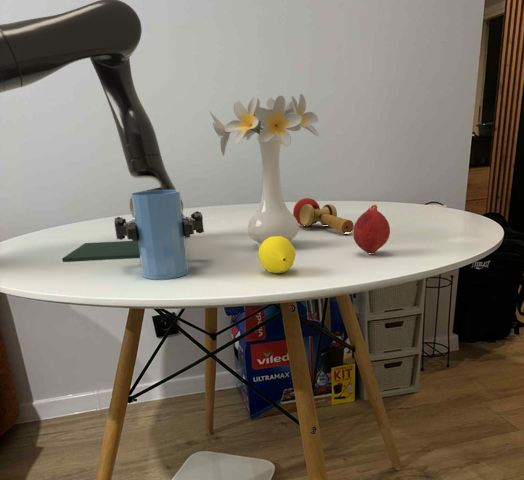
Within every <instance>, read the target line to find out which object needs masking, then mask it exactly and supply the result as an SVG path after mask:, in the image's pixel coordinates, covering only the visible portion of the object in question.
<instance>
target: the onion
mask: <svg viewBox="0 0 524 480" xmlns="http://www.w3.org/2000/svg"><path fill="white" fill-rule="evenodd" d="M378 207H379V206H378V205H377V204H375V203H373V204H371V205H370V206H369V207H368V209H367V210H366V211H364V212H363V213H362V214H360V216H359V217H357V220H356V221H355V223H354V228H353V231H352V235H353V240H354V243H355V244H356V245H357V246H358V247H359V248H360V249H361V250H362V251H364V252H365V253H366V254H368V253H374V254H376V252H377V251H378V250H380V249H381V248H382V247H384V245H386V244H387V242H388V240H389V238H390V235H391V227H390V223H389V221H388V220H387V218H386V217H385V215H384V214H383V213H381V212H380V211H378Z"/></svg>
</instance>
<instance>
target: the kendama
mask: <svg viewBox="0 0 524 480" xmlns="http://www.w3.org/2000/svg"><path fill="white" fill-rule="evenodd" d="M337 211H338V210H337V207H336V206H335V205H333V204H331V203H330V204H329V203H327V204H324V205H323V206H322V208H321V207H320V204H319V203H318V202H317V201H316V200H315V199H313V198H310V197H304V198H301V199H299V200H298V201H297V202H296V203H295V205H294V206H293V211H292V214H293V215H294V217H295V218H296V220H297V222H298V225H299V226H302V225H305V226H306V227H310V226H309V225H311V226H313V225H315V224H317V223H320V224H321V225H322V226H323V225H328V226H330V227H329V228H332V229H333V230H335V231H337V232H339V233H341V234H342V233H345V232H351V231H352V232H353V229H354V226H355V223H354V222H353V220H351V219H346V218H344V217H343V218H342V217H339V216H338V212H337ZM312 224H313V225H312ZM352 232H351V233H352Z"/></svg>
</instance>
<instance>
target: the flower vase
mask: <svg viewBox="0 0 524 480" xmlns="http://www.w3.org/2000/svg"><path fill="white" fill-rule="evenodd" d="M260 102H261V101H260V99H259V98H258V97H257V96H253V97H252V98H251V100H250V101H249V103H248V105H247V108H246V106H245V105H244V104H243V102H242V101H240V100H235V102H233V107H232V108H233V113H234V115H235V117H236V118H237V119H233V120H230V121H229V122H227V123H226V124H224V123H222V122H221V120H219V119H218V118H217V117H216V115H214V113H212V111H211V110H209V114H210V116H211V118H212V120H213V122H212V126H213V129H214V131H215V133H216V135H217V136H218V138H220V141H219V142H220V143H219V144H220V150H221V151H220V152H221V154H222V156H223V157H225V154H226V153H225V152H226V148H227V144H228V141H229V139H230V135H231V133H235V132H236V134H235V136H234V143H235V144H240V143H241V142H242V140H243V139H244V138H245V139H246V141H249V140H250V139H251V138H252V137H253V136H254V135H255V134H257V135H256V140H257V141H258V145H259V149H260V155H261V164H262V169H261V170H262V189H261V190H262V191H261V199H260V203H259V205H258V208H257V210H256V212H255V213H254V214H253V215H252V216H251V218H250V219H249V221H248V224H247V233H248V235H249V237H250V238H251V239H252V240H253V241H254V242H257V243H256V247H257V248H258V249H259V247H260V246H261V244H262V243H263V241H264V240H265V239H267V238H269V237H272V236H282V237H284V238H286V239H288V240H289V241H290V242H291V241H292V240H293V239H294V238H295V237H296V236H297V235H298V232H299V231H300V224H298V222H297V220H296V218H295V217H294V215H293V212H291V211H290V210H289V209H288V206H287V205H286V202H285V200H284V197H283V192H282V187H281V186H282V185H281V184H282V183H281V169H280V152H281V145H282V146H284V147H289V146H291V144H292V136H291V134H290V132H298V131H300V130H301V129H302V128H304V129H305V130H307V131H309V132H310V133H311V134H313V136H315V137H317V138H318V137H319V132H318V130H317V129H316V127H314V125H312V124H316V123H318V122H319V117H318V115H317V114H316V113H314V112H312V111H306V110H307V102H306V98H305V96H304V94H302V93H299V97H298V101H297V99H296V98H295V97H294V96H293V95H292V96H291V100H289V101H286V98H285V97H284V96H283V95H281V94H280V95H278V96H277V97H276V99H274V98H272V97H269V98H267V100H266V107H267V108H266V107H261V106H260V104H261V103H260ZM289 131H290V132H289Z"/></svg>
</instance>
